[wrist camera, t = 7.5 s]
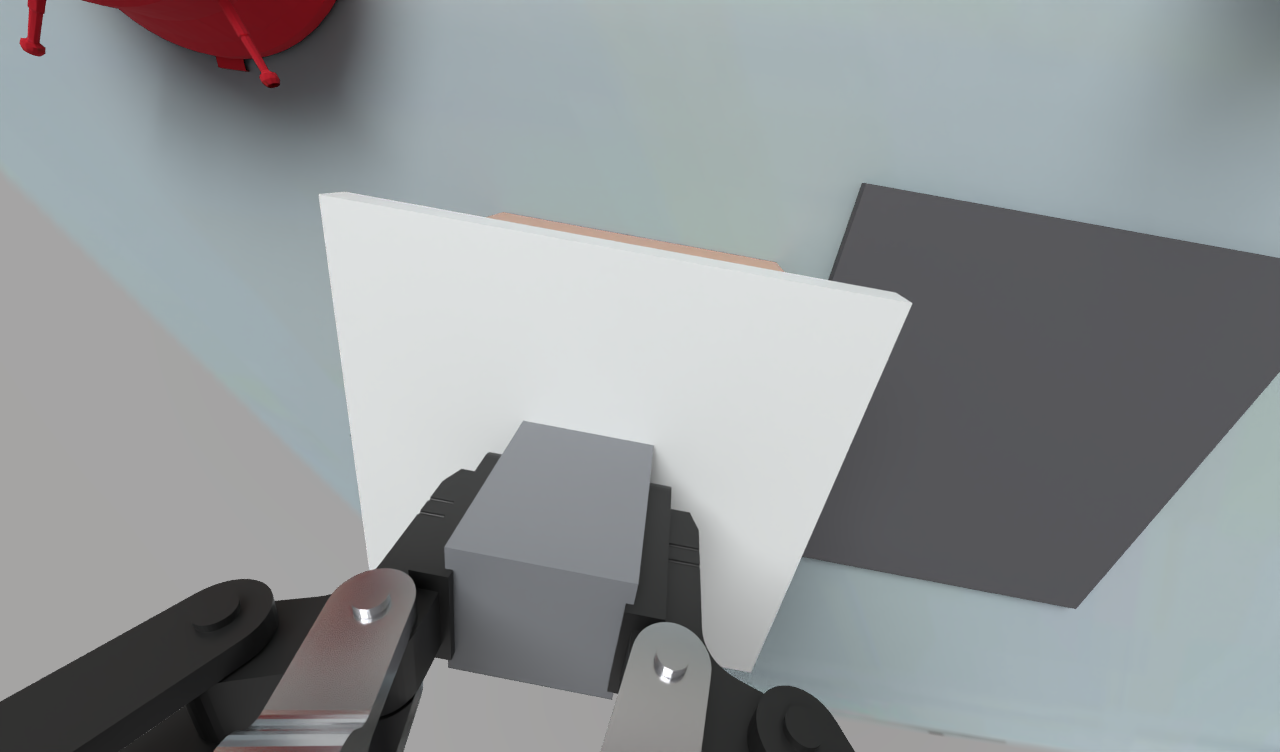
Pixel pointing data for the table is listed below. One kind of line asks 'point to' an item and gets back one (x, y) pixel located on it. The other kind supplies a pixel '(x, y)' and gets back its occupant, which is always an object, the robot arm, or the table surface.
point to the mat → (1036, 390)
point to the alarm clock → (213, 26)
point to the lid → (592, 420)
